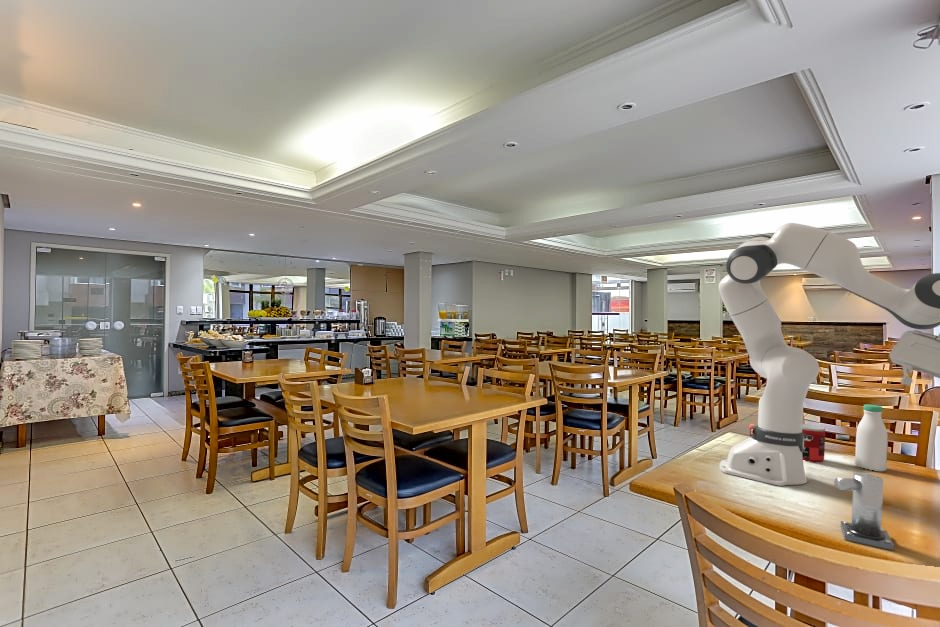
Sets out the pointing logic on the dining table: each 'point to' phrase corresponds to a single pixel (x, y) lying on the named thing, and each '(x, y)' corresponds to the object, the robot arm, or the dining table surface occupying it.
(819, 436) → the canned food
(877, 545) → the duct flange
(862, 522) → the grey pipe with spout
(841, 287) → the robot arm
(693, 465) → the dining table surface
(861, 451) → the milk bottle
